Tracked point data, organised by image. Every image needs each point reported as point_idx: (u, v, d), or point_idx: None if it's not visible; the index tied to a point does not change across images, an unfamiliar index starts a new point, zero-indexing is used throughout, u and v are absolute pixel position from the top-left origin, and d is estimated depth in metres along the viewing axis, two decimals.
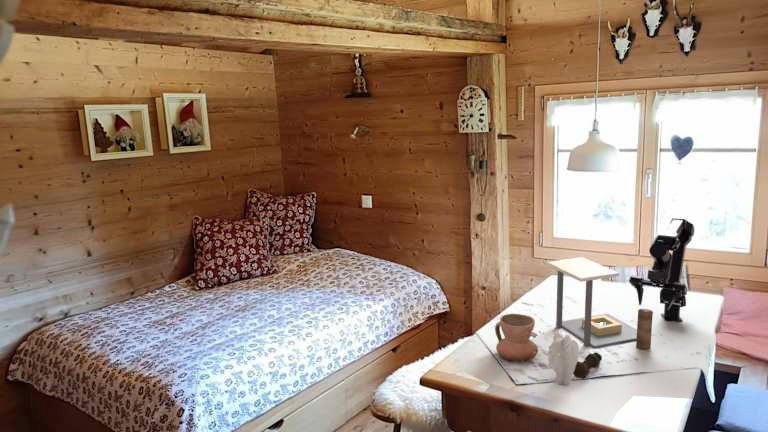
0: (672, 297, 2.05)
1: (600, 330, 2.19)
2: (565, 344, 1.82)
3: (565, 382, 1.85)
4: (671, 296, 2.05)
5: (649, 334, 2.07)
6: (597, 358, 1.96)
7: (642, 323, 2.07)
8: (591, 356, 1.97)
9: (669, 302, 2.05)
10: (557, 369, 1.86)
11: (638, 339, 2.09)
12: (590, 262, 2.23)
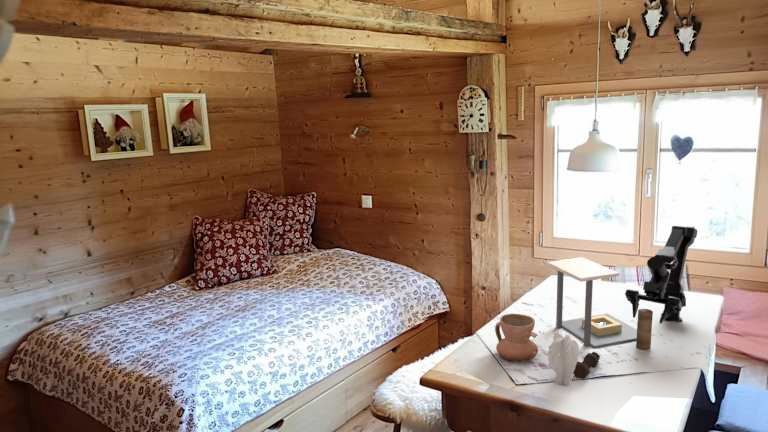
0: (666, 310, 2.07)
1: (600, 330, 2.19)
2: (565, 344, 1.82)
3: (565, 382, 1.85)
4: (665, 309, 2.07)
5: (649, 334, 2.07)
6: (596, 357, 1.96)
7: (642, 323, 2.07)
8: (590, 356, 1.97)
9: (663, 315, 2.07)
10: (557, 369, 1.86)
11: (638, 339, 2.09)
12: (590, 262, 2.23)
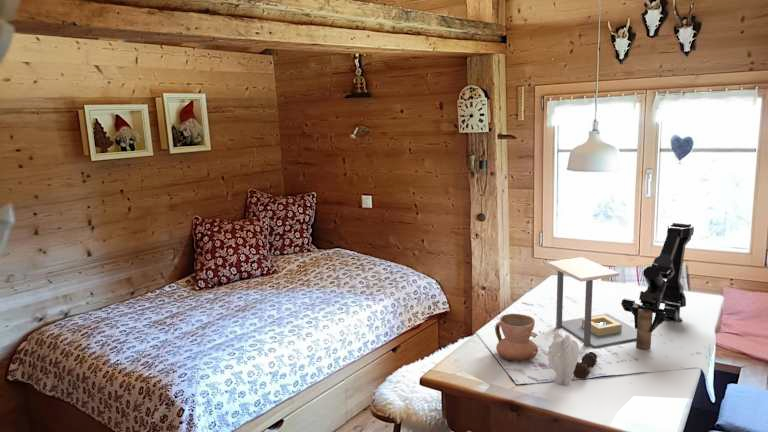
0: (656, 319, 2.06)
1: (600, 330, 2.19)
2: (565, 344, 1.82)
3: (565, 382, 1.85)
4: (655, 318, 2.06)
5: (649, 334, 2.07)
6: (594, 357, 1.97)
7: (642, 323, 2.07)
8: (588, 356, 1.97)
9: (653, 324, 2.06)
10: (557, 369, 1.86)
11: (638, 339, 2.09)
12: (590, 262, 2.23)
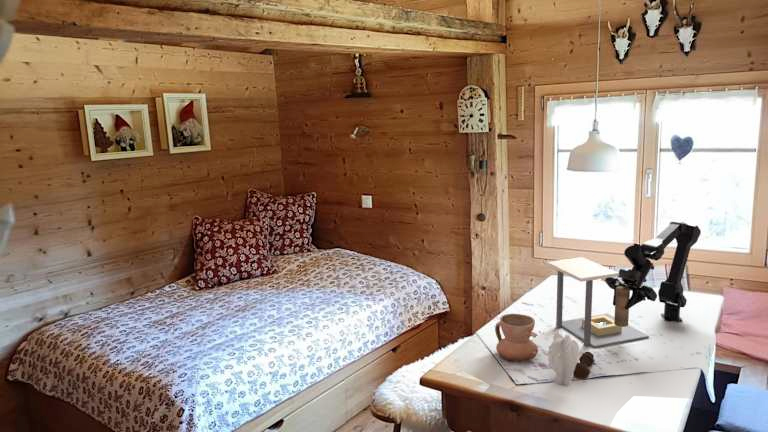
0: (633, 297, 2.11)
1: (600, 330, 2.19)
2: (565, 344, 1.82)
3: (565, 382, 1.85)
4: (632, 296, 2.11)
5: (625, 311, 2.12)
6: (592, 357, 1.97)
7: (618, 300, 2.12)
8: (586, 356, 1.97)
9: (629, 302, 2.11)
10: (557, 369, 1.86)
11: (615, 315, 2.15)
12: (590, 262, 2.23)
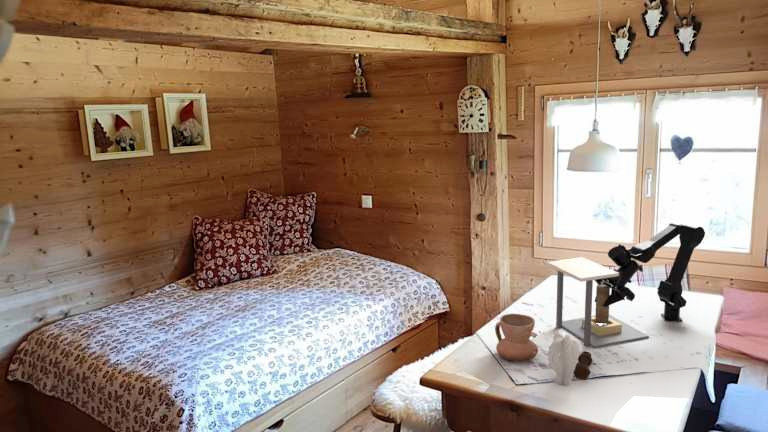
0: (611, 296, 2.19)
1: (600, 330, 2.19)
2: (565, 344, 1.82)
3: (565, 382, 1.85)
4: (611, 295, 2.20)
5: (603, 308, 2.21)
6: (590, 357, 1.97)
7: (597, 297, 2.22)
8: (584, 355, 1.97)
9: (607, 299, 2.20)
10: (557, 369, 1.86)
11: None
12: (590, 262, 2.23)
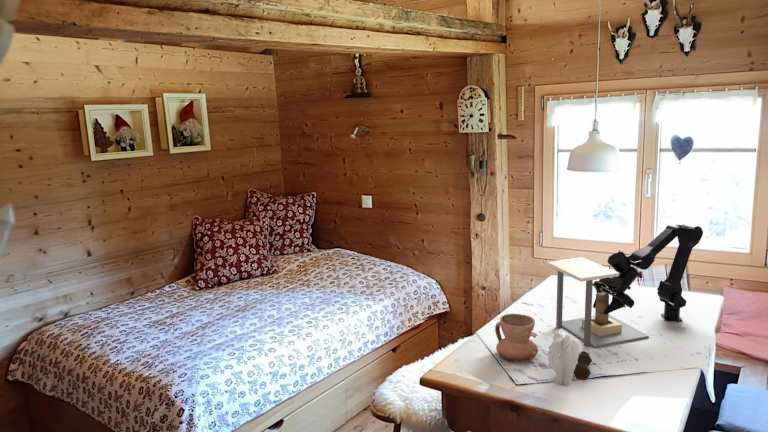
0: (612, 303, 2.19)
1: (600, 330, 2.19)
2: (565, 344, 1.82)
3: (565, 382, 1.85)
4: (612, 302, 2.20)
5: (603, 316, 2.22)
6: (589, 357, 1.97)
7: (596, 305, 2.23)
8: (583, 356, 1.97)
9: (608, 307, 2.20)
10: (557, 369, 1.86)
11: (595, 319, 2.26)
12: (590, 262, 2.23)
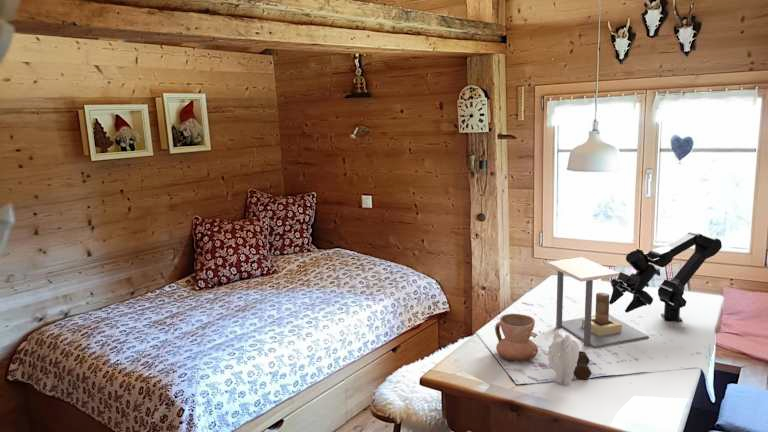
0: (633, 301, 2.20)
1: (600, 330, 2.19)
2: (565, 344, 1.82)
3: (565, 382, 1.85)
4: (632, 300, 2.21)
5: (603, 316, 2.22)
6: (587, 357, 1.98)
7: (597, 305, 2.23)
8: (581, 356, 1.97)
9: (629, 305, 2.21)
10: (557, 369, 1.86)
11: (595, 319, 2.26)
12: (590, 262, 2.23)
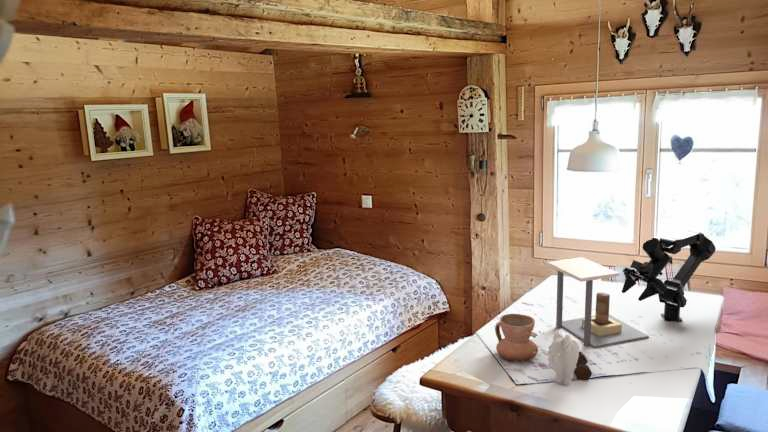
0: (646, 289, 2.18)
1: (600, 330, 2.19)
2: (565, 344, 1.82)
3: (565, 382, 1.85)
4: (646, 288, 2.18)
5: (603, 316, 2.22)
6: (585, 357, 1.98)
7: (597, 305, 2.23)
8: (580, 356, 1.97)
9: (642, 293, 2.18)
10: (557, 369, 1.86)
11: (595, 319, 2.26)
12: (590, 262, 2.23)
